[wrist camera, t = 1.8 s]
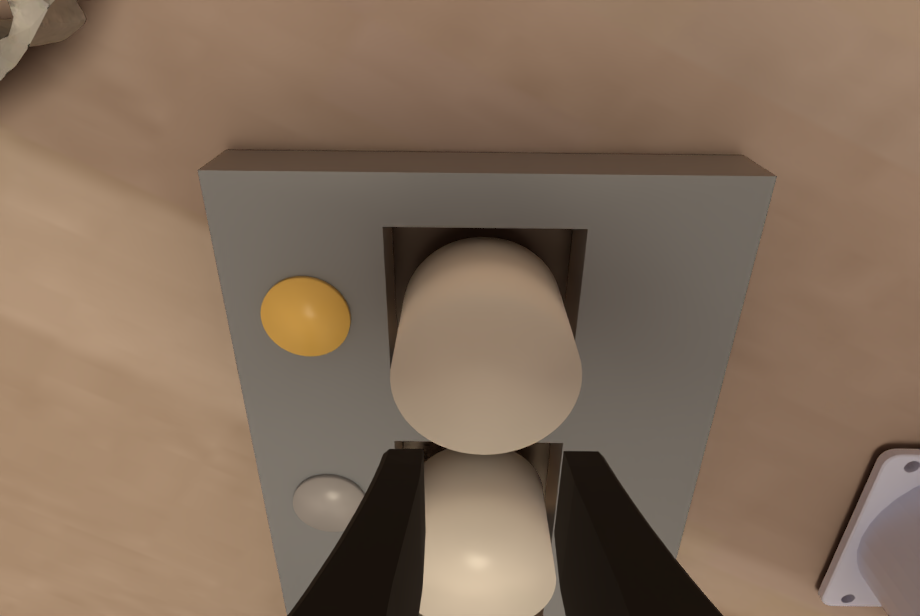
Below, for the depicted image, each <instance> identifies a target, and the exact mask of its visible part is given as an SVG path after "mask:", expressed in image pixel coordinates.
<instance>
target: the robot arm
mask: <svg viewBox="0 0 920 616" xmlns="http://www.w3.org/2000/svg"><path fill="white" fill-rule="evenodd" d="M425 536H426V522H425V484H424V449H389V450H387V451H386V452H385V453H384V454H383V456H382V458H381V461H380V464H379V466H378V468H377V470H376V473H375V475H374V477H373V479H372V481H371V483H370V485H369V487H368V489H367V491H366V493H365V495H364V497H363V499H362V501H361V502H360V504H359V506H358V508H357V510H356V512H355V513H354V515H353V517H352V518H351V520H350V522H349V524H348V525H347V527H346V529H345V530H344V532H343V534H342V535H341V537H340V539H339V541H338V542H337V544H336V546H335V547H334V549H333V550H332V552H331V553H330V555H329V556H328V558H327V559H326V561H325V562H324V564H323V565H322V567H321V568H320V570H319V571H318V573H317V574H316V576H315V577H314V579H313V580H312V582H311V583H310V585H309V586H308V588H307V589H306V591H305V592H304V594H303V595H302V596H301V598H300V599H299V601H298V602H297V603H296V605H295V606H294V607H293V609H292V610H291V612H290V613H289V614H288V616H419V610H420V603H421V596H422V589H423V574H424V555H425ZM554 537H555V547H556V557H557V566H558V575H559V584H560V591H561V596H562V601H563V605H564V610H565V615H566V616H723V615H722V614H721V613H720V612H719V610H718V609H717V608H716V607H715V606H714V605H713V604H712V602H711V601H710V600H709V599H708V598H707V597H706V595H705V594H704V593H703V592H702V591H701V589H700V588H699V587H698V586H697V585H696V584H695V582H694V581H693V580H692V579H691V578H690V576H689V575H688V574H687V573H686V571H685V570H684V569H683V568H682V566H681V565H680V564H679V563H678V561H677V560H676V559H675V558H674V556H673V555H672V554H671V552H670V551H669V550H668V549H667V547H666V546H665V545H664V543H663V542H662V541H661V539H660V538H659V537H658V535H657V534H656V533H655V531H654V530H653V529H652V528H651V526H650V525H649V523H648V522H647V521H646V519H645V518H644V517H643V515H642V514H641V512H640V511H639V509H638V508H637V507H636V505H635V504H634V502H633V501H632V499H631V498H630V497H629V495H628V494H627V492H626V491H625V489H624V488H623V486H622V485H621V483H620V482H619V480H618V479H617V477H616V476H615V474H614V472H613V471H612V469H611V468H610V466H609V465H608V463H607V461H606V460H605V458H604V457H603V456H602V455H601V454H600V453H599V452H598V451H564V452H563V461H562V469H561V478H560V486H559V495H558V503H557V512H556V520H555V529H554ZM818 595H819V596H820V598H821V600H822V602H823V603H824V604H826V605H829V606H882V607H883V608H884V610H885V611H886V613H887V614H888V616H920V449H889V450H887V451H884V452H883V453H882V454H880V456H879V457H878V458H877V460H876V463H875V465H874V467H873V469H872V472H871V474H870V476H869V478H868V481H867V483H866V485H865V487H864V490H863V492H862V494H861V496H860V499H859V501H858V503H857V505H856V508H855V510H854V512H853V514H852V517H851V519H850V521H849V523H848V526H847V528H846V530H845V532H844V535H843V537H842V539H841V541H840V543H839V546H838V548H837V550H836V552H835V555H834V557H833V559H832V561H831V564H830V566H829V568H828V570H827V573H826V575H825V577H824V579H823V582H822V584H821V586H820V588H819V591H818Z"/></svg>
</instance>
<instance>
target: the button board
mask: <svg viewBox="0 0 920 616" xmlns="http://www.w3.org/2000/svg"><path fill="white" fill-rule="evenodd" d="M198 175H199V180H200V185H201V190H202V195H203V200H204V205H205V210H206V215H207V220H208V225H209V230H210V235H211V240H212V244H213V249H214V254H215V259H216V264H217V269H218V274H219V279H220V284H221V289H222V294H223V299H224V304H225V309H226V314H227V319H228V324H229V329H230V334H231V339H232V344H233V349H234V354H235V359H236V364H237V369H238V374H239V379H240V384H241V389H242V394H243V399H244V404H245V409H246V414H247V418H248V423H249V428H250V433H251V438H252V443H253V448H254V453H255V458H256V463H257V468H258V473H259V478H260V483H261V488H262V493H263V498H264V503H265V508H266V513H267V518H268V523H269V528H270V533H271V538H272V543H273V548H274V553H275V558H276V563H277V568H278V573H279V578H280V583H281V588H282V592H283V597H284V602H285V607H286V612H287V616H288V614H289V613H290V612H291V610H292V609H293V607H294V606H295V605H296V603H297V602H298V601H299V599H300V598H301V596H302V595H303V594H304V592H305V591H306V589H307V588H308V586H309V585H310V583H311V582H312V580H313V579H314V577H315V576H316V574H317V573H318V571H319V570H320V568H321V567H322V565H323V564H324V562H325V561H326V559H327V558H328V556H329V555H330V553H331V552H332V550H333V549H334V547H335V546H336V544H337V542H338V541H339V539H340V537H341V535H342V534H343V532H344V530H345V529H346V527H347V525H348V524H349V522H350V520H351V518H352V517H353V515H354V513H355V512H356V510H357V508H358V506H359V504H360V502H361V501H362V499H363V497H364V495H365V493H366V491H367V489H368V487H369V485H370V483H371V481H372V479H373V477H374V475H375V473H376V470H377V468H378V466H379V464H380V461H381V458H382V456H383V454H384V453H385V452H386V451H387V450H389V449H403V444H402V441H430V440H428V439H427V438H425V437H424V436H422V435H421V434H419V433H418V432H417V431H416V430H415V429H414V428H413V427H412V426H411V425H410V424H409V423H408V422H407V421H406V420H405V419H404V417H403V415H402V414H401V412H400V411H399V409H398V407H397V405H396V403H395V401H394V398H393V394H392V391H391V384H390V369H391V364H392V358H393V353H394V348H395V343H396V338H397V318H396V297H395V276H394V255H393V234H392V227H447V228H540V229H573V232H572V241H571V251H570V261H569V270H568V280H567V289H566V299H565V310H566V314H567V317H568V320H569V323H570V327H571V330H572V333H573V337H574V340H575V343H576V346H577V350H578V353H579V357H580V360H581V366H582V384H581V388H580V393H579V396H578V398H577V401H576V403H575V405H574V407H573V409H572V411H571V412H570V414H569V415H568V416H567V418H566V419H565V420H564V421H563V423H562V424H561V425H560V426H559V427H558V428H557V429H555V430H554V431H553V432H552V433H550V434H549V435H548V436H546V437H545V438H543V439H541V440H540V441H538V442H536V443H551V444H550V453H549V463H548V473H547V482H546V492H545V508H546V514H547V521H548V527H549V534H550V540H551V547H552V554H553V560H554V567H555V573H556V586H555V591H554V593H553V595H552V598H551V599H550V601H549V602H548V604H547V605H546V606H545V607H544V608H543V609H542V610H541V611H540V612H538V613H537V614H536V615H534V616H566V615H565V610H564V605H563V601H562V596H561V591H560V584H559V575H558V566H557V557H556V547H555V537H554V529H555V520H556V512H557V503H558V495H559V486H560V478H561V469H562V461H563V452H564V451H598V452H599V453H600V454H601V455H602V456H603V457H604V458H605V460H606V461H607V463H608V465H609V466H610V468H611V469H612V471H613V472H614V474H615V476H616V477H617V479H618V480H619V482H620V483H621V485H622V486H623V488H624V489H625V491H626V492H627V494H628V495H629V497H630V498H631V499H632V501H633V502H634V504H635V505H636V507H637V508H638V509H639V511H640V512H641V514H642V515H643V517H644V518H645V519H646V521H647V522H648V523H649V525H650V526H651V528H652V529H653V530H654V531H655V533H656V534H657V535H658V537H659V538H660V539H661V541H662V542H663V543H664V545H665V546H666V547H667V549H668V550H669V551H670V552H671V554H672V555H673V556H674V558H675V559H676V557H677V554H678V550H679V546H680V542H681V538H682V535H683V531H684V527H685V523H686V519H687V516H688V512H689V508H690V504H691V500H692V497H693V493H694V489H695V485H696V482H697V478H698V474H699V470H700V466H701V463H702V459H703V455H704V451H705V447H706V444H707V440H708V436H709V432H710V428H711V425H712V421H713V417H714V413H715V409H716V406H717V402H718V398H719V394H720V390H721V387H722V383H723V379H724V375H725V371H726V368H727V364H728V360H729V356H730V352H731V349H732V345H733V341H734V337H735V333H736V330H737V326H738V322H739V318H740V314H741V311H742V307H743V303H744V299H745V295H746V292H747V288H748V284H749V280H750V276H751V273H752V269H753V265H754V261H755V257H756V254H757V250H758V246H759V242H760V239H761V235H762V231H763V227H764V223H765V220H766V216H767V212H768V208H769V204H770V201H771V197H772V193H773V189H774V185H775V182H776V178H777V176H775V175H774V174H772V173H771V172H769V171H768V170H766V169H764V168H763V167H761V166H760V165H758V164H756V163H755V162H753V161H752V160H750V159H748V158H747V157H745V156H744V155H669V154H574V153H478V152H382V151H287V150H225V151H224V152H223V153H221V154H220V155H218V156H217V157H216V158H214V159H213V160H211V161H210V162H209V163H207V164H206V165H204V166H203V167H201V168H200V169H199V170H198Z"/></svg>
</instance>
